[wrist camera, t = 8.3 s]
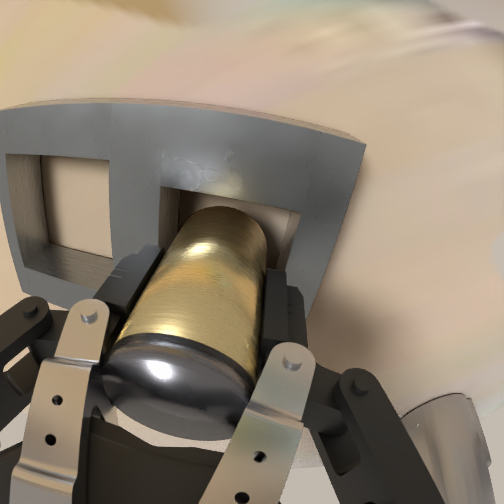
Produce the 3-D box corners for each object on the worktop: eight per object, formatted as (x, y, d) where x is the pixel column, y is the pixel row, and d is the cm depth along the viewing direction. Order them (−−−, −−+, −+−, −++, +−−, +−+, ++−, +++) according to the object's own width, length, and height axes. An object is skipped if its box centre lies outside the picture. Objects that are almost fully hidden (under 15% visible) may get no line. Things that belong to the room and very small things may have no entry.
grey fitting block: (348, 133, 12) (366, 144, 10) (287, 326, 18) (287, 362, 16) (28, 102, 12) (-7, 111, 9) (45, 268, 18) (22, 291, 15)
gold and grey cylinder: (275, 216, 12) (270, 384, 5) (257, 290, 14) (240, 448, 7) (182, 198, 12) (82, 338, 5) (177, 274, 14) (114, 418, 7)
